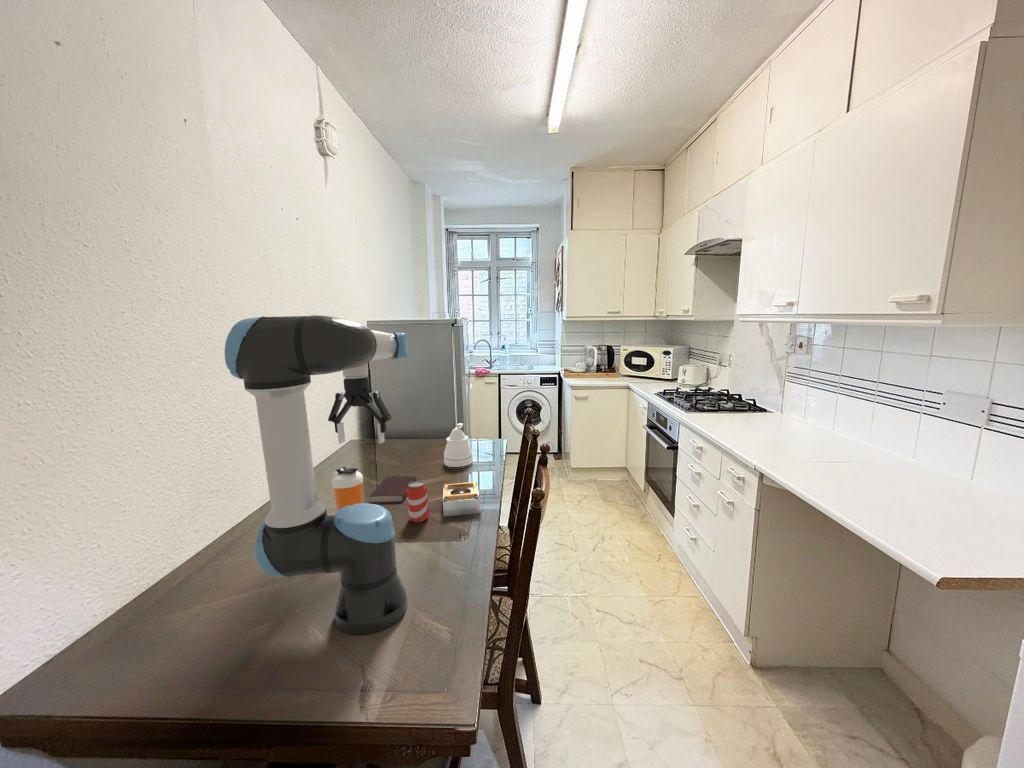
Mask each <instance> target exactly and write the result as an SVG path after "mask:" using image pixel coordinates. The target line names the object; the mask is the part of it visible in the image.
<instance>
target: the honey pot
mask: <svg viewBox="0 0 1024 768" xmlns="http://www.w3.org/2000/svg"><path fill="white" fill-rule="evenodd" d="M456 425H457V427H455V428H453V429H452V431H451V432H450V434H449V436H448V437H446V439H445V440H446V445H445V449H444V451H443V463H444V464H445V465H446V466H449V467H448V468H450V467H460V466H466V465H469V464H471V463H472V462H474V458H473V450H472V449H471V446H470V443H469V441H468V440H469V436H468V435H466V434H465V433H464V431H463V430H462V428H463V427H464V423H461V422H459V423H457V424H456ZM444 464H443V465H444ZM472 464H473V463H472ZM472 464H471V465H472ZM445 465H444V466H445ZM446 466H445V467H446ZM469 466H470V465H469Z"/></svg>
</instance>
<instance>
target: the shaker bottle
mask: <svg viewBox="0 0 1024 768" xmlns="http://www.w3.org/2000/svg"><path fill="white" fill-rule="evenodd" d="M358 470H359V468H356V467H347V466H342V467H340V468H338V469H335V470H333V473H332V475H333V477H332V479H331V487H332V491H333V497H334V502H335V510H336V512H337V511H338V510H339V509H341V508H343V507H345V506H348V505H350V506H352V505H353V504H358V503H364V490H363V485H364V484H363V482H364V477H363V476H364V475H363V473H361V472H360V471H358Z"/></svg>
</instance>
